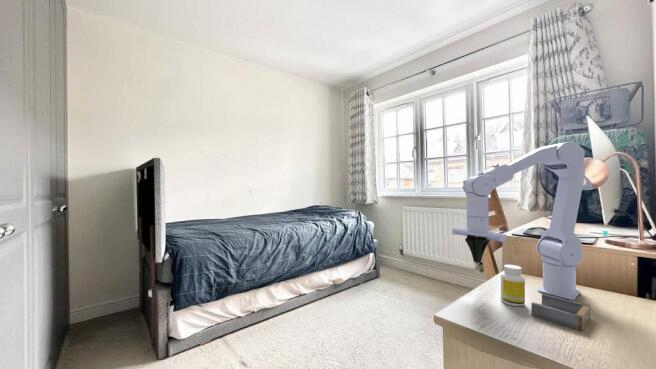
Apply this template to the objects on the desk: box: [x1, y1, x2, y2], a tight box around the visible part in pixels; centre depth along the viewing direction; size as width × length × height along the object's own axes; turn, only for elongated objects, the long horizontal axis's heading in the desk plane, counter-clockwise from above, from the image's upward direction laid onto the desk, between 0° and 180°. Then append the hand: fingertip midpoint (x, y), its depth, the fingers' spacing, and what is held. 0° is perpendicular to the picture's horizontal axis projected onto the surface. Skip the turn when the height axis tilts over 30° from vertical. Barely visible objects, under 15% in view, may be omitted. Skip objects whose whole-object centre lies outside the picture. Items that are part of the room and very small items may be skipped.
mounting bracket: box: [530, 293, 591, 332], centre depth 65 cm, size 9×9×3 cm
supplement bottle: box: [500, 264, 526, 307], centre depth 73 cm, size 5×5×10 cm
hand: (477, 261), depth 80 cm, fingers closed
